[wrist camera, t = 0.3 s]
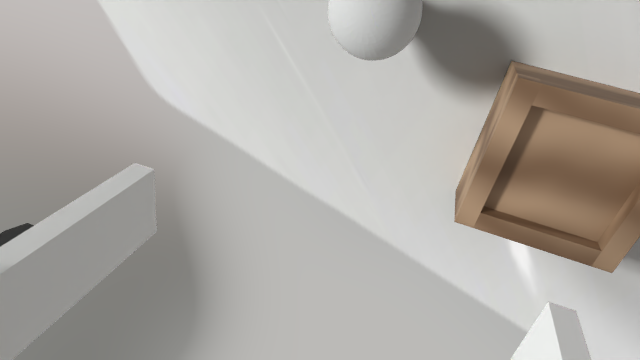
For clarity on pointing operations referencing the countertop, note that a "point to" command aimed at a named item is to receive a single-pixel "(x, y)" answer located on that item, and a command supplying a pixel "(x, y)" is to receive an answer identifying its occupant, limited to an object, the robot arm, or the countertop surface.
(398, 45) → the light bulb
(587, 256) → the tray
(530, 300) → the countertop surface
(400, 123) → the countertop surface
